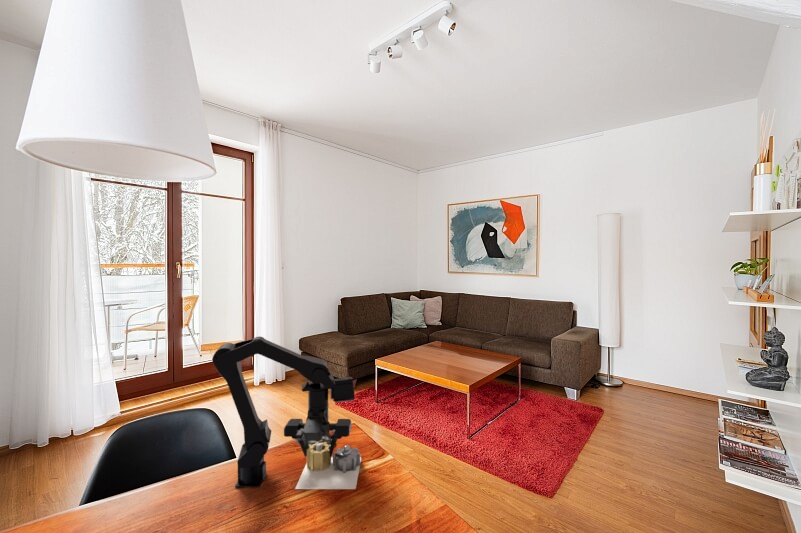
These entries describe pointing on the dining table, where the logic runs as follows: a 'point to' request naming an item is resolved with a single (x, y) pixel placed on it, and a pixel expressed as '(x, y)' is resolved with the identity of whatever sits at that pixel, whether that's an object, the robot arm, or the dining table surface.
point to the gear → (346, 459)
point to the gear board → (327, 477)
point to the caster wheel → (324, 439)
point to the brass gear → (318, 457)
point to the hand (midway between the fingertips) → (318, 455)
